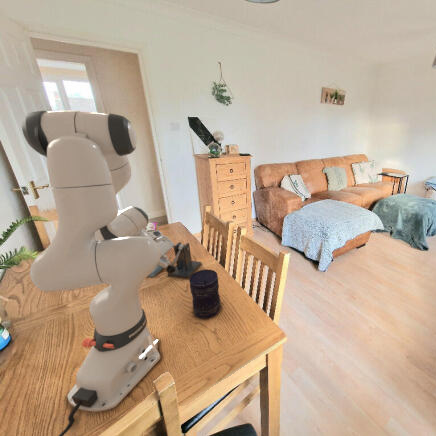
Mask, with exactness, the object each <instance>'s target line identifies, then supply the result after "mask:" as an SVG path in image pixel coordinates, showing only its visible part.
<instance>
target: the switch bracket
mask: <svg viewBox="0 0 436 436" xmlns="http://www.w3.org/2000/svg"><path fill="white" fill-rule="evenodd" d="M180 244H182V242H181V241H178V243H175V244H174V247H173V250H174V251H173V252H174V258H175V257H176V255H177V253H178V251H179V250H178V247H179V245H180ZM182 251H183V252H182V253H181V255H180V257H179V258H178V260H177V262H176V264H175V266H174V267H175V272H174V273H171V274H169V273H167V276H168V277H171V278H178V279H179V278H180V279H186V280H189V279H190V277H191V275H192V274H194V273H195V272H197V270H198V269H199V268H200V267H201V265H202V261H198V260H192V253H191V246H190V242H186V243H185V244H184V246H183V247H182Z"/></svg>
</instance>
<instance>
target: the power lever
mask: <svg viewBox="0 0 436 436" xmlns="http://www.w3.org/2000/svg"><path fill="white" fill-rule="evenodd" d="M184 245H185V244H183V243H181V244H180V245H179V247H178V250H179V251H178V253H177V255H176V257H175V256H174V259H173V260H172V262H171V264H170V265H169V266H168V267H166V268H165V271H166V273H167V274H168V273H169V274H171V273H174V272H175V266H176V265H177V263H176V262H177V260H178V258H179V257H180V255H181V253H182V252H183V251H182V247H183V246H184Z"/></svg>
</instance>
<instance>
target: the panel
mask: <svg viewBox="0 0 436 436" xmlns="http://www.w3.org/2000/svg"><path fill="white" fill-rule="evenodd" d="M160 260H161V262H164V260H162V259H161V258H160ZM164 263H165V262H164ZM164 269H165V268H164V267H162V266H159V265H158V266H157V267H156V268H155V270H154V271H152V272H151V273H150V274H149V275H148V276H147V278H154V277H156V275H157V274H158V273H160V272H161V271H162V270H164Z"/></svg>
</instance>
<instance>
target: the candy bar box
mask: <svg viewBox="0 0 436 436" xmlns="http://www.w3.org/2000/svg"><path fill="white" fill-rule="evenodd" d="M144 230H146V231H147V232H148V233H149V232H154V231H158V230H159V226H158V221H154V222H148V224H147V225H146V227H145V228H144Z"/></svg>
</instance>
